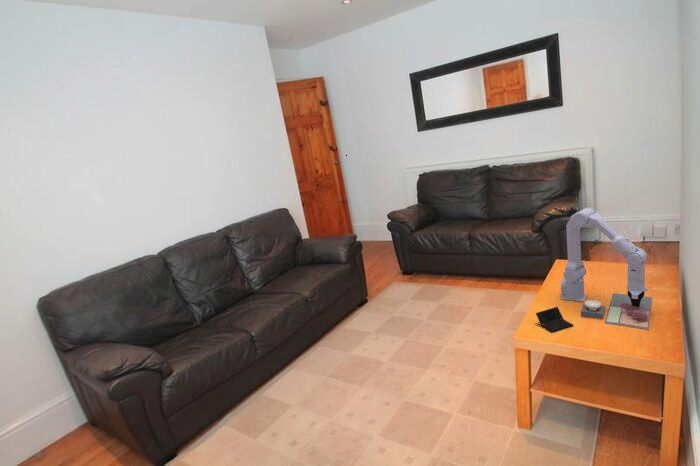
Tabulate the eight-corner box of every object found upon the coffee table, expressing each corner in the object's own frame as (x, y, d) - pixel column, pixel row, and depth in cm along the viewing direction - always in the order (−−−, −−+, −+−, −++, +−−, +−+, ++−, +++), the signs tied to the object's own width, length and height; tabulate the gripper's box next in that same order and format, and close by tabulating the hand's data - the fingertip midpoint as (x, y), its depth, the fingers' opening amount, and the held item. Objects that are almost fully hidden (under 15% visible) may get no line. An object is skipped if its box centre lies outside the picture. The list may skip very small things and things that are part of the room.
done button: (583, 312, 166) (583, 304, 165) (586, 306, 170) (585, 299, 169) (600, 314, 162) (600, 306, 161) (602, 308, 166) (602, 300, 165)
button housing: (580, 316, 166) (580, 311, 165) (584, 308, 172) (583, 303, 171) (602, 319, 161) (602, 314, 160) (605, 311, 167) (605, 305, 166)
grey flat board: (604, 323, 158) (604, 322, 158) (613, 293, 180) (613, 292, 180) (648, 329, 149) (648, 329, 149) (652, 297, 170) (652, 297, 170)
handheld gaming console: (556, 331, 156) (544, 308, 160) (543, 336, 162) (533, 313, 166) (576, 326, 160) (564, 303, 164) (563, 330, 166) (552, 308, 170)
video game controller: (633, 321, 154) (652, 321, 153) (633, 311, 153) (652, 310, 152) (619, 312, 163) (636, 312, 162) (619, 302, 163) (637, 301, 162)
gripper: (647, 285, 151) (646, 316, 154) (649, 272, 161) (648, 301, 165) (625, 283, 155) (625, 313, 159) (628, 270, 166) (628, 299, 169)
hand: (635, 307), depth 162 cm, fingers closed
